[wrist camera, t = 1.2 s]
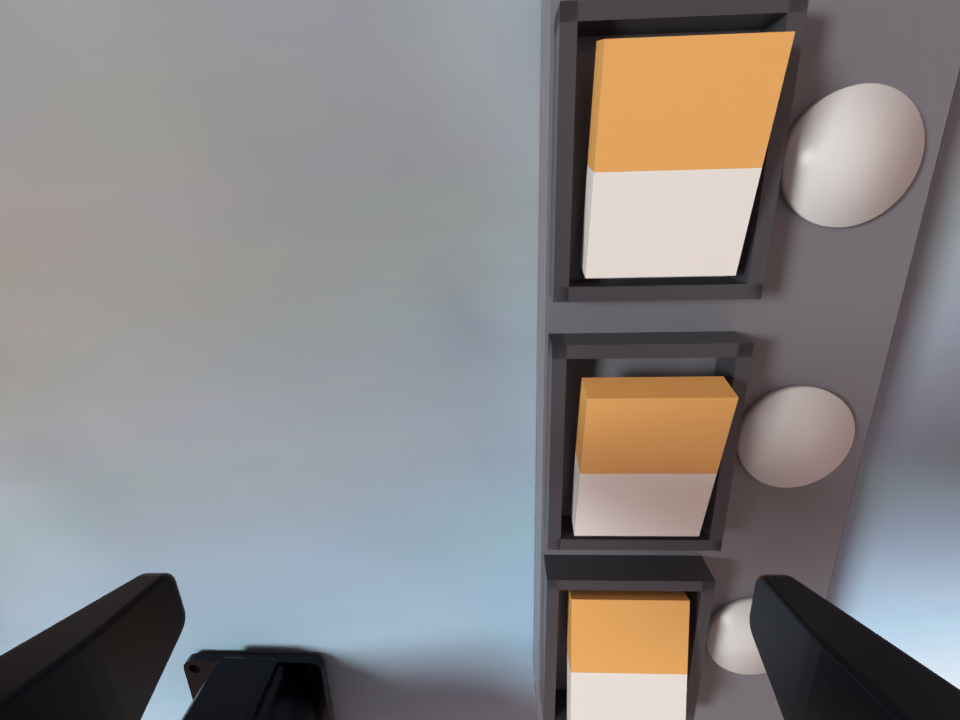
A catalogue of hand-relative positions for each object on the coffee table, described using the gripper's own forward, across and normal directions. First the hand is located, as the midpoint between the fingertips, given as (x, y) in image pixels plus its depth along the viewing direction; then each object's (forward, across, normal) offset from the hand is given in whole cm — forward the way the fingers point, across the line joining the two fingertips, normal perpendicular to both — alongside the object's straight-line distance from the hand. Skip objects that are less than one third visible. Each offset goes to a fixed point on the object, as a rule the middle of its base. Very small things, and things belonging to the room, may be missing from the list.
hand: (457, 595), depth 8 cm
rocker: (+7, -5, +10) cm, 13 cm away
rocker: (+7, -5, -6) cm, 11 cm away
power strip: (+11, -7, +3) cm, 14 cm away
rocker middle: (+7, -5, +2) cm, 9 cm away
